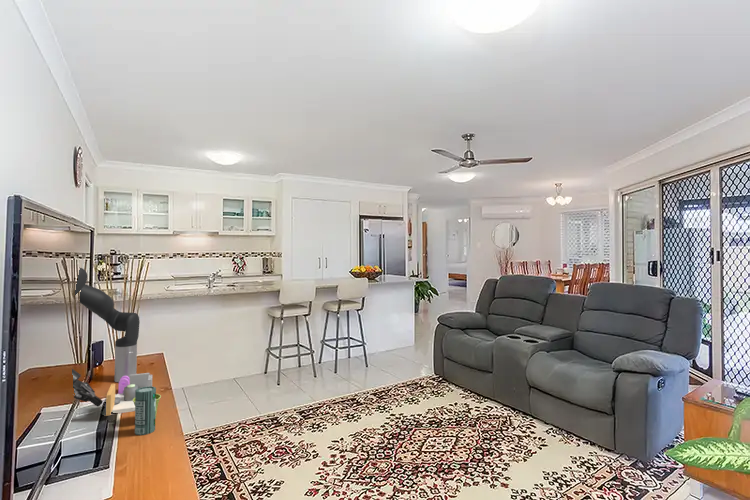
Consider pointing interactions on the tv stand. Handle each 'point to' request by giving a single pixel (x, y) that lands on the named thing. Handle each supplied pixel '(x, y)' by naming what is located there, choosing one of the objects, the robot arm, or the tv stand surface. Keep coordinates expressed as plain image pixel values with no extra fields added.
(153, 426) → the can
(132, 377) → the plate
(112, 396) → the tan upright panel
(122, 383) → the bracket
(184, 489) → the tv stand surface
